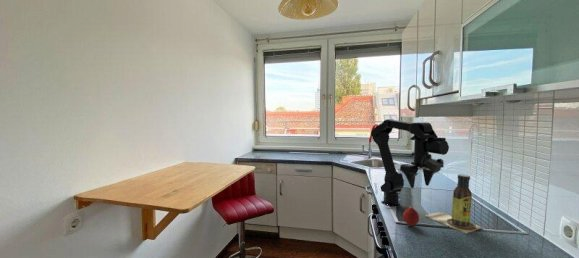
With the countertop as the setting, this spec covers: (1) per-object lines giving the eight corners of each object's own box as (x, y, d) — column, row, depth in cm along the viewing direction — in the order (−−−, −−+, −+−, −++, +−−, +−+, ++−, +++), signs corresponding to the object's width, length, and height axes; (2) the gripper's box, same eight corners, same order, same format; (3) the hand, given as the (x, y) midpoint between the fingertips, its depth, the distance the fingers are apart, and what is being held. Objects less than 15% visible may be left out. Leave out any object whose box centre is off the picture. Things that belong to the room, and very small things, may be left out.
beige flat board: (425, 216, 111) (425, 214, 111) (440, 213, 116) (441, 211, 115) (465, 233, 96) (465, 231, 96) (482, 228, 100) (482, 226, 100)
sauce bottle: (464, 228, 98) (467, 178, 97) (447, 222, 104) (450, 174, 103) (473, 225, 102) (476, 176, 100) (456, 219, 107) (459, 172, 106)
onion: (415, 223, 105) (416, 204, 104) (421, 229, 99) (421, 209, 98) (400, 222, 105) (401, 203, 105) (405, 228, 99) (406, 208, 99)
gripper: (422, 155, 99) (421, 194, 100) (453, 152, 107) (451, 189, 108) (399, 151, 110) (398, 187, 111) (429, 149, 117) (428, 182, 118)
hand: (419, 186), depth 112 cm, fingers open, 9 cm apart
